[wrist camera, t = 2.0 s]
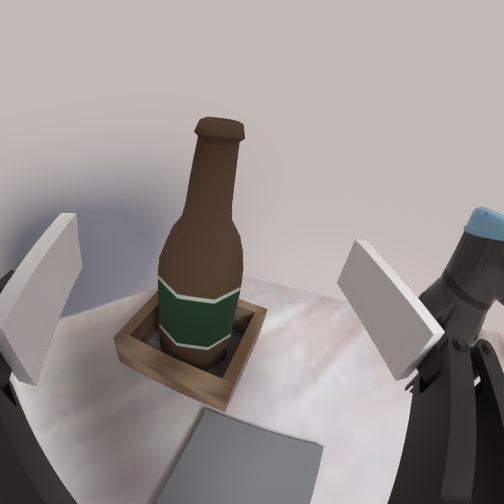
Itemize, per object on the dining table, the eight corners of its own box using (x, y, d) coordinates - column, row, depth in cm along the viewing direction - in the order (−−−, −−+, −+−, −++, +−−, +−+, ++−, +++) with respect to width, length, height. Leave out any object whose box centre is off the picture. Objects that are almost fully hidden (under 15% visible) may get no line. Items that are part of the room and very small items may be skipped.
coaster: (321, 447, 21) (323, 445, 21) (291, 552, 11) (293, 553, 11) (205, 411, 23) (206, 408, 23) (151, 510, 13) (151, 510, 13)
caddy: (260, 331, 34) (267, 309, 32) (224, 411, 24) (230, 393, 22) (173, 297, 36) (174, 274, 34) (119, 360, 26) (113, 337, 24)
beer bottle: (182, 314, 34) (202, 112, 22) (237, 339, 33) (288, 129, 20) (147, 354, 28) (144, 114, 15) (209, 386, 26) (256, 132, 14)
